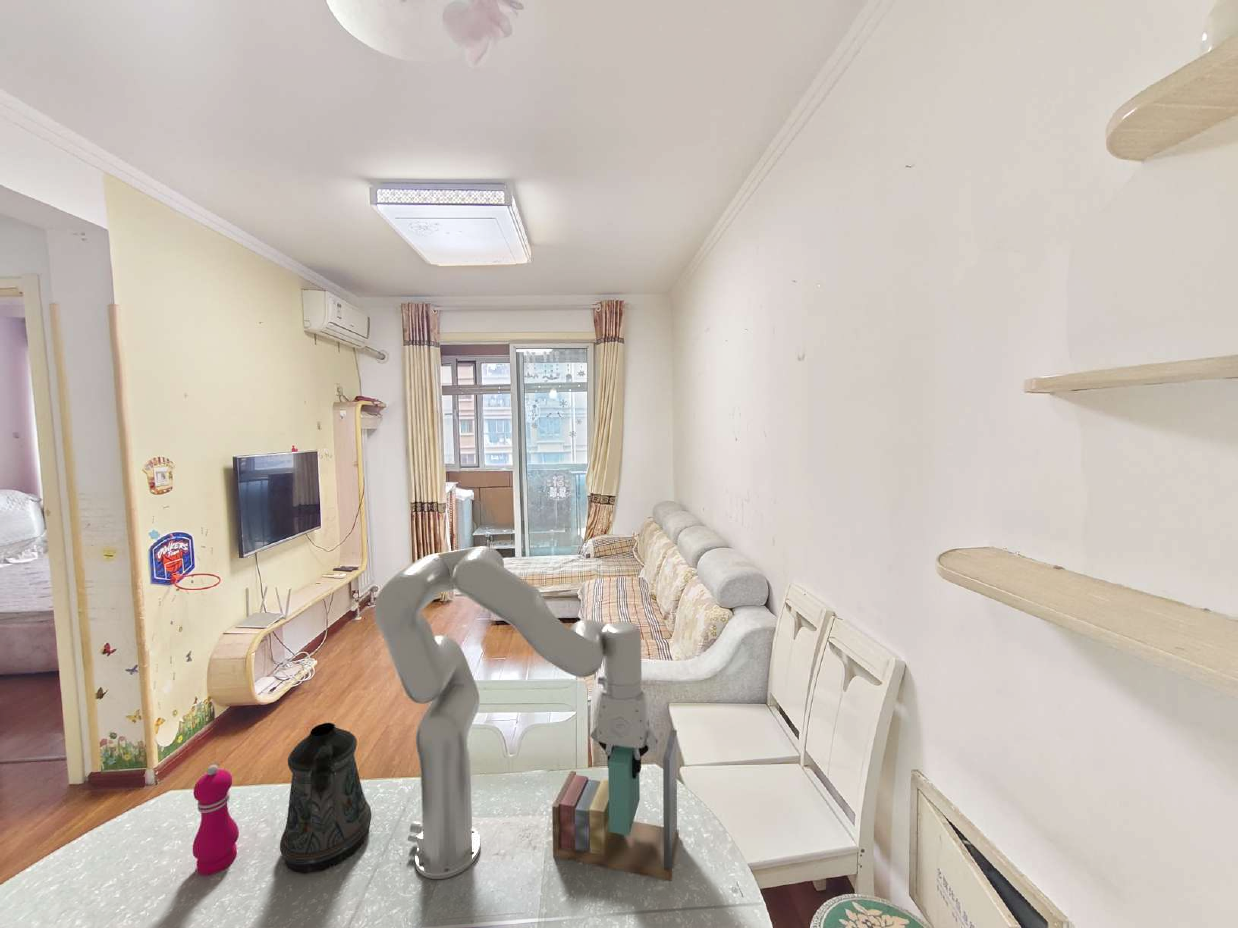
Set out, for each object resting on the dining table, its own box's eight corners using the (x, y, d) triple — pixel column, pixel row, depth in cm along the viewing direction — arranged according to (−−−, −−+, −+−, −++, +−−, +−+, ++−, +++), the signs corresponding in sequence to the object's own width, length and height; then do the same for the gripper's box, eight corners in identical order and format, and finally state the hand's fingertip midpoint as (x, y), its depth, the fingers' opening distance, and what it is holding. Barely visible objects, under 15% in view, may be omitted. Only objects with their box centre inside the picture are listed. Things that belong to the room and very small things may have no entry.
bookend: (663, 868, 96) (663, 759, 95) (671, 828, 106) (671, 729, 105) (669, 869, 96) (669, 760, 95) (676, 829, 106) (676, 729, 104)
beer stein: (347, 802, 117) (343, 697, 116) (395, 839, 106) (391, 724, 105) (266, 850, 103) (260, 733, 102) (311, 899, 92) (305, 768, 91)
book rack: (553, 855, 101) (552, 806, 101) (571, 815, 112) (570, 770, 111) (670, 881, 95) (670, 828, 95) (678, 836, 106) (678, 788, 106)
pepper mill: (184, 871, 98) (179, 773, 97) (224, 843, 105) (219, 751, 104) (209, 882, 96) (203, 781, 95) (248, 852, 103) (243, 758, 102)
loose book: (609, 831, 99) (608, 760, 98) (621, 796, 108) (620, 731, 108) (629, 835, 98) (628, 763, 97) (639, 799, 107) (638, 733, 107)
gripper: (577, 689, 100) (579, 778, 101) (660, 699, 96) (661, 791, 97) (589, 672, 107) (590, 755, 108) (667, 680, 103) (667, 766, 104)
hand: (624, 771), depth 102 cm, fingers closed on loose book, 4 cm apart
